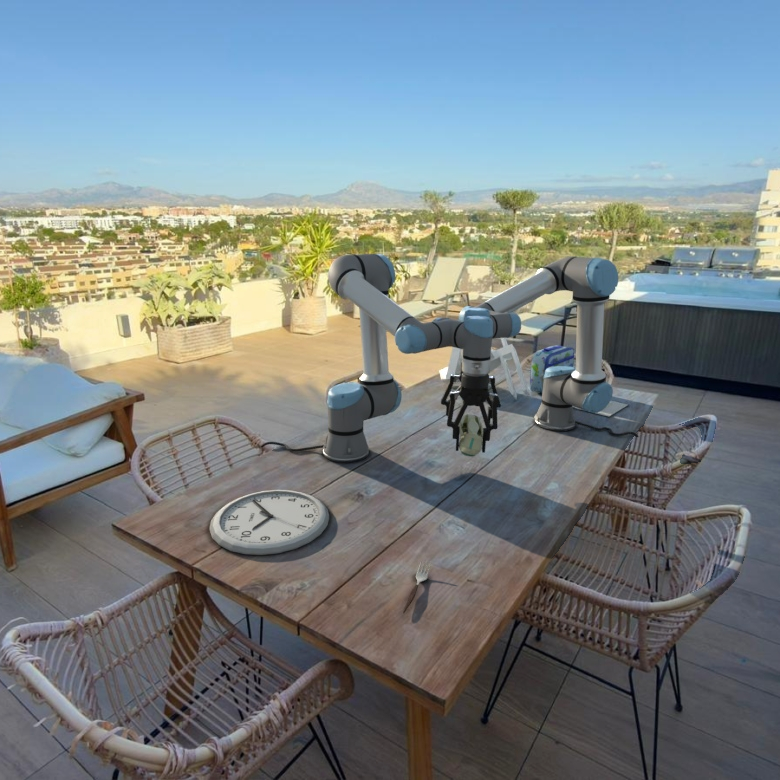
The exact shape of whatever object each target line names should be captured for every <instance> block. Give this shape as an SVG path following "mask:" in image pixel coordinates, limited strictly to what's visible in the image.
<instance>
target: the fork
mask: <svg viewBox="0 0 780 780" xmlns="http://www.w3.org/2000/svg"><path fill="white" fill-rule="evenodd" d="M422 561H423V560H422V559H421V560H420V564H419V566H418V570H417V572H416V575H415V579H416V581H417V583H416V584H415V585H414V587H413V588H412V589H411V591H410V592H409V594H408V597H407V600H406V603H405V605H404V610H403V611H402V613H403V614H405V613H406V612H407V610H408V608H409V606H410V604H411V603H412V602H413V600H414V599H415V597H416V595H417V591H418V588H419V584H420V583H422V582H425V581H427V579H428V578H429V575H430V569H431V565H432V562H430V563H429V561H427V562H426V560H424V562H423V564H422ZM425 562H426V563H425ZM428 563H429V564H428ZM425 564H426V565H425ZM428 565H429V566H428ZM421 566H422V567H421Z"/></svg>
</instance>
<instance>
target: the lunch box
mask: <svg viewBox="0 0 780 780" xmlns="http://www.w3.org/2000/svg"><path fill="white" fill-rule="evenodd" d="M574 363H575V348H573V347H571V346H570V347H568V346H563V345H551V346H548V347H544V348H543V349H539V350H536V351H535V352H534V354H533V356H532V358H531V363H530V374H529V391H532V392H536V393H540V394H542V391H543V379H544V375H545V370H546V369H547V368H549V367H555V366H569V367H574Z"/></svg>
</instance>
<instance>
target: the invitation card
mask: <svg viewBox="0 0 780 780" xmlns="http://www.w3.org/2000/svg"><path fill="white" fill-rule="evenodd" d="M628 406H629V404H627V403H623V402H618V401H614V400H610V402H609V404H608V405H607V406H606V407H605V408H604V409H603V410H602V411H600V412H597V413H595V414H596V415H600V416H604V417H608V418H609V417H611V416H613V415H614V414H616V413H617V412H619V411H621V410H623V409H624V408H626V407H628ZM573 409H575V410H581V411H584V410H583V409H580V408H577V407H575V406H573Z"/></svg>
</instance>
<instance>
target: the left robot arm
mask: <svg viewBox="0 0 780 780" xmlns="http://www.w3.org/2000/svg"><path fill="white" fill-rule="evenodd" d="M327 279H328V283H329V285H330V288H331V290H333V292H334V293H335V294H336V295H338V296H339V297H340V298H341V299H343V300H344V301H349V302H351V303H352V304H353V305H355V306H356V307H358V314H359V325H360V326H359V327H360V341H361V355H362V370H363V371H362V372H363V373H362V374H361V376H360V377H359V382H356V381H355V382H353V381H350V382H342V383H339V384H336V385H334V386H332V387H331V388H329V390H328V392H327V401H326V405H327V427H328V428H327V430H328V431H327V435H326V438H325V440H324V444H320V445H314V446H307V447H301V448H290V447H289V445H287V444H286V443H282V442H279V441H278V442H277V441H266V442H264V443H262V444H261V445H260V446H259V447H260V448H264V447H265V446H269V445H274V446H275V445H276V446H280V447H284V448H285V449H286V450H287V451H290V452H295V453H296V452H297V453H298V452H304V451H309V450H310V451H311V450H316V449H322V448H323V449H322V455H323V457H324V458H325V459H327V460H329V461H332V462H336V463H344V464H345V463H355V462H359V461H362V460H364V459H366V458H367V457H368V456H369V453H370V452H369V451H370V449H369V445H368V442H367V438H366V436H365V432H364V422H365V421H367V420H370V419H374V418H377V417H378V418H379V417H381V416H386V415H389V414H392V413H393V412H395V411H396V410H398V409H399V407H400V405H401V402H402V389H401V387H400V386H399V385H400V384H399V382H397V380H395V378H394V375H393V374H392V373H391V372H390V371H389V353H388V335H387V332H388V333H390V334H391V335H392V336H393V337H394V343H395V345H396V346H397V349H398V351H400V352H401V353H402V354H404V355H409V354H411V355H412V354H420V353H423V352H428V351H432V350H439V349H443V348H447V347H450V348H453V347H455V348H460V349H463V362H462V371H463V373H462V378H461V383H460V384H461V388H460V390H459V391H457V392H455V391H453V390H451V391H450V393H449V399H450V400H451V401H450V407H449V413H448V416H447V420H446V426H447V427H449V428H452V439H453V440H455V451H456V452H459V450H460V448H459V441H460V426H458V425H459V423H460V421H461V419H462V418H463V416H464V415H465V412H466V410H467V408H468V407H472V406H474V407H479V410H480V412H481V416H482V419H483V422H484V426H485V427H483V439H482V448H481V452H482V454H484V453H486V446H487V445H486V443H487V442H490V440H491V431H492V430H497V429H498V428H499V427H498V408H497V402H498V399H499V400H500V397H499V394H497V393H498V392H497V393H496V394H493V392H490V390H489V385H490V384H489V377H490V375H489V374H490V373H491V372H490V357H491V355H490V354H491V348H492V344H493V339H492V337H493V321H492V319H491V318H489V317H485V316H468V317H467V318H466V319H465V322H463V321H459V319H458V320H457V319H452V318H449V317H435V318H434V319H433V320H431V321H428V322H422V321H420V320H419V319H417V318H416V317H415V316H413V315H412V314H410V313H409V312H408V311H407V310H405V308H403V307H402V306H400V305H399V304H397V303H396V302H394V300H392V299H391V298H390V297H389V296H390V292H389V291H390V289H391V288H392V287H393V286H394V283H395V282H396V270H395V267H394V265H393V262H392V260H391V259H390V258H388V257H387V256H386V255H385V254H380V253H358V254H357V253H356V254H349V253H348V254H343V255H340V256H338V257H337V258H335V259H334V260H333V261H332V262H331V264H330V266H329V268H328V273H327ZM489 372H490V373H489ZM488 373H489V374H488ZM458 397H460V398H461V400H462V403H461V405H460V408H459V410H458V412H457V414H456V417H455V419H454V421H453V417H454V413H455V412H454V411H455V405H456V400H458ZM488 397H490V401H491V402H492V418H491V419H492V423H491V422H490V423H489V420H488V412H487V410H486V407H485V404H484V403H485V402H486V399H487V398H488Z"/></svg>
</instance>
